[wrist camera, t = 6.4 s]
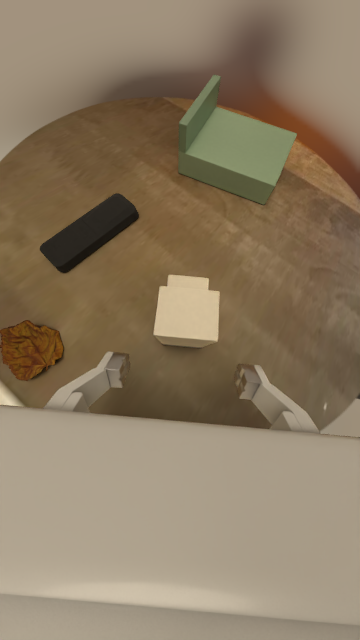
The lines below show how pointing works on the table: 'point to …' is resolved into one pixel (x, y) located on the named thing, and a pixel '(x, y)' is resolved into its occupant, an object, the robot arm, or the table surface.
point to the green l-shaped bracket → (231, 148)
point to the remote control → (89, 232)
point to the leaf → (29, 348)
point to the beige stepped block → (187, 313)
